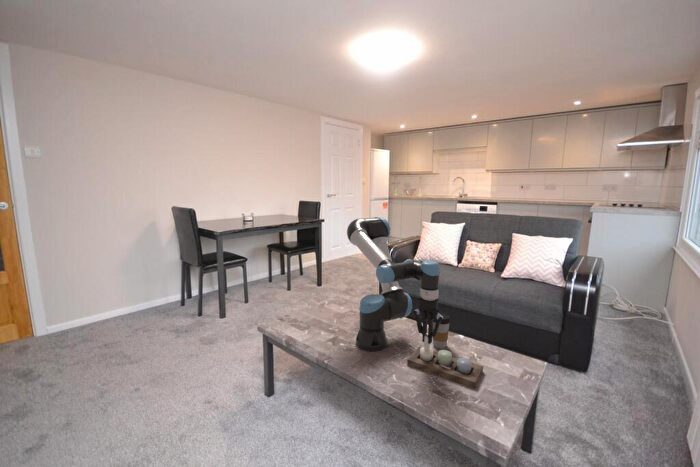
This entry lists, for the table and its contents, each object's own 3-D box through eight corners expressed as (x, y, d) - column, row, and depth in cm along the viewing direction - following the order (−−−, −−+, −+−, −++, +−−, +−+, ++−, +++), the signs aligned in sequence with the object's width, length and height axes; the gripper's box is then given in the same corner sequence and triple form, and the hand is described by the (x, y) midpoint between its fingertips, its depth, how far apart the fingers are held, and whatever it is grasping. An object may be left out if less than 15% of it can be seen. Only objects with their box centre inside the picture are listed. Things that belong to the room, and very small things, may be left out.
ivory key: (417, 359, 139) (418, 350, 139) (422, 353, 144) (423, 345, 143) (430, 363, 136) (430, 354, 136) (434, 357, 141) (435, 348, 140)
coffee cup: (449, 350, 150) (451, 320, 147) (431, 348, 151) (432, 318, 149) (447, 342, 158) (449, 313, 155) (430, 340, 159) (431, 311, 157)
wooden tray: (407, 364, 138) (407, 359, 138) (419, 351, 149) (419, 346, 149) (474, 388, 123) (475, 382, 122) (482, 371, 133) (483, 366, 133)
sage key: (435, 363, 135) (436, 354, 134) (440, 357, 139) (440, 348, 138) (449, 367, 132) (449, 358, 131) (453, 361, 136) (453, 352, 135)
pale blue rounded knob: (455, 371, 130) (455, 362, 130) (458, 365, 135) (459, 356, 134) (468, 376, 127) (469, 366, 127) (472, 369, 132) (473, 360, 131)
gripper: (410, 297, 136) (409, 348, 140) (441, 303, 129) (438, 358, 133) (417, 292, 142) (416, 341, 146) (447, 298, 135) (444, 350, 139)
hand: (426, 349), depth 139 cm, fingers closed
